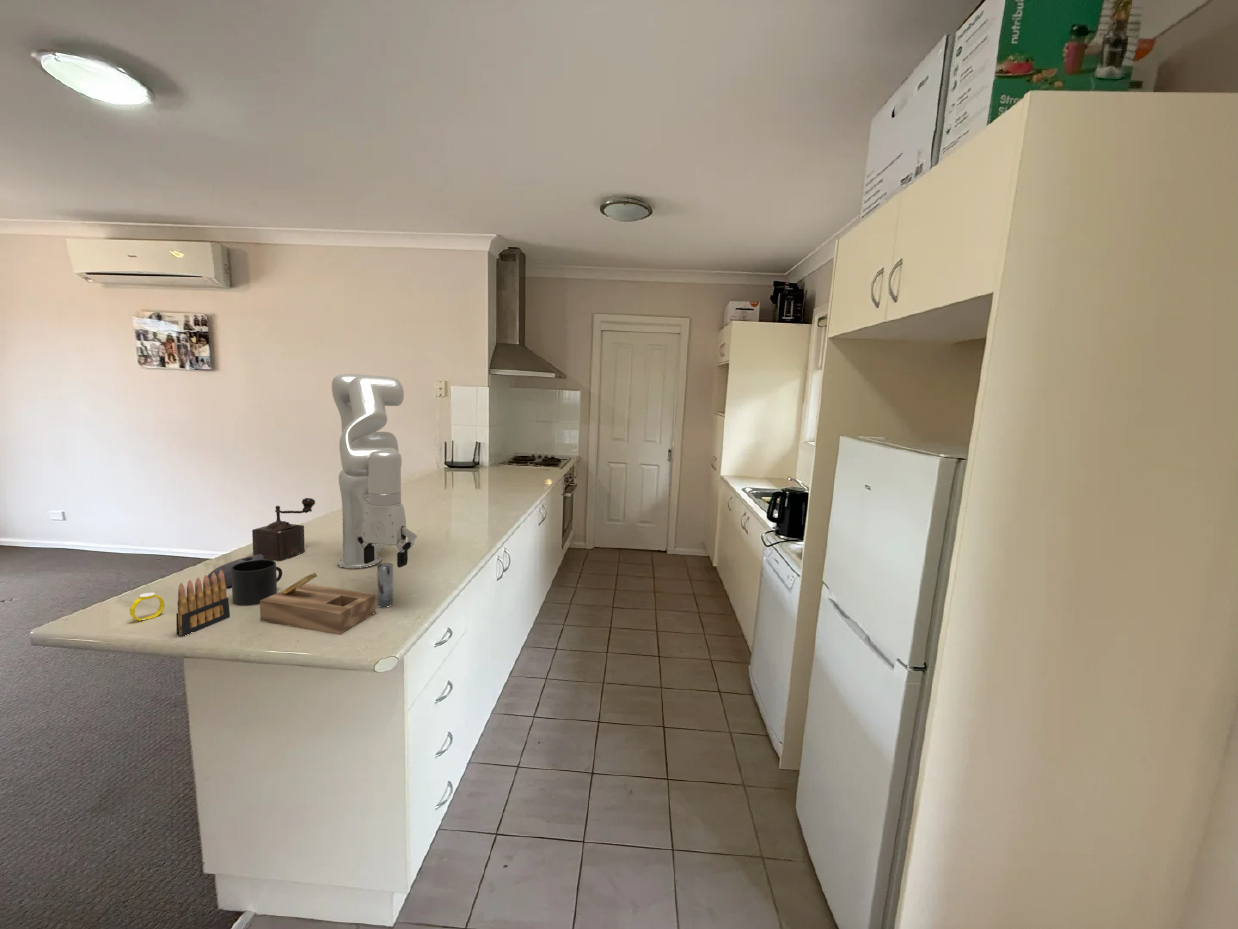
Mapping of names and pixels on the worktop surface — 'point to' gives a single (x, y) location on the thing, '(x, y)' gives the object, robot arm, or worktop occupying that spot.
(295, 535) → the manual coffee grinder
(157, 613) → the yellow ring
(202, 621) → the ammunition clip
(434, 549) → the worktop surface
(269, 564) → the mug
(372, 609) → the walnut block
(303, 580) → the bar
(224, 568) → the perforated stone tool
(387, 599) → the steel pin
